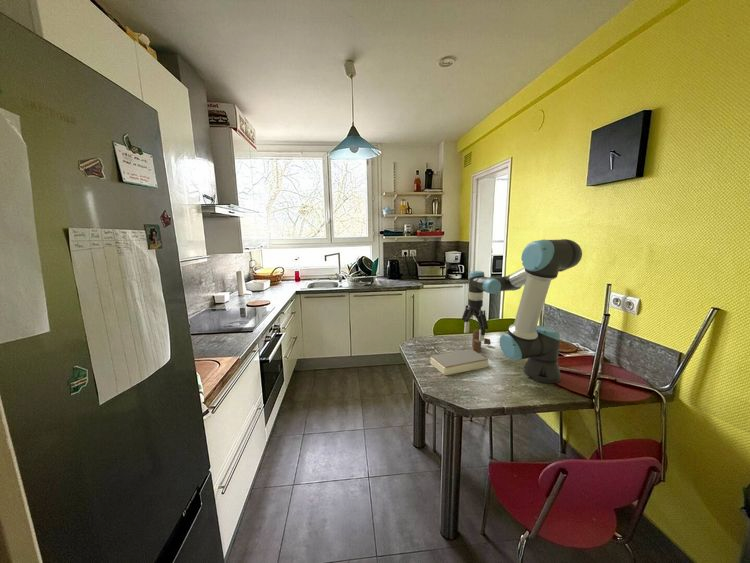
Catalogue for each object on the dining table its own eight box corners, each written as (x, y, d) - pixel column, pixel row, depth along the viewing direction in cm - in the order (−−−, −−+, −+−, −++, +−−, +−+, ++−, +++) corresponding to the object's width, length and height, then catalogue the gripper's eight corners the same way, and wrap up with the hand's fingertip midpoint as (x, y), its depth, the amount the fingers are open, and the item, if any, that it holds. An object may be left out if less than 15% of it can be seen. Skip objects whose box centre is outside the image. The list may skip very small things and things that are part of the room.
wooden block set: (482, 357, 157) (483, 338, 155) (466, 353, 161) (467, 335, 159) (490, 346, 171) (491, 329, 169) (475, 342, 176) (476, 326, 174)
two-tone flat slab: (488, 366, 145) (488, 359, 144) (444, 375, 137) (445, 367, 137) (470, 356, 158) (471, 349, 157) (430, 363, 150) (430, 356, 149)
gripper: (497, 303, 151) (494, 343, 154) (467, 294, 174) (465, 328, 177) (485, 304, 148) (482, 345, 152) (456, 295, 171) (455, 330, 175)
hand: (473, 336), depth 165 cm, fingers open, 12 cm apart
